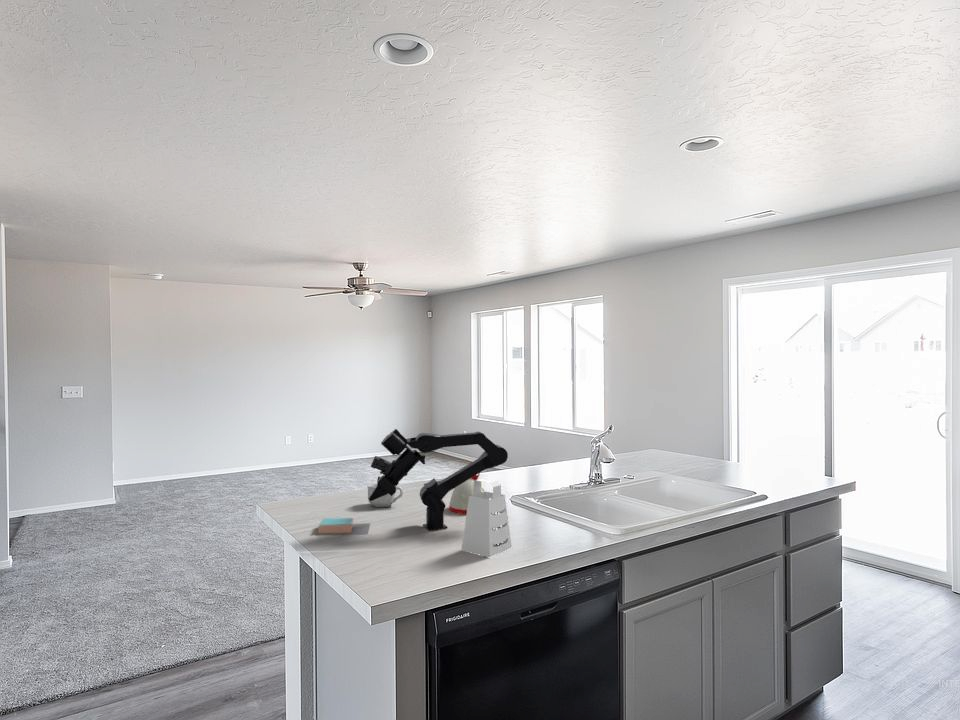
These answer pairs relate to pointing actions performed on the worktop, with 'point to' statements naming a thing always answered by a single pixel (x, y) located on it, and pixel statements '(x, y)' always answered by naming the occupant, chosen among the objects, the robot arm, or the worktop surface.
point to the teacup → (383, 497)
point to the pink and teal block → (335, 525)
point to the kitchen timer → (462, 496)
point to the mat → (356, 530)
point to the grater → (486, 521)
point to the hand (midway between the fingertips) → (369, 500)
